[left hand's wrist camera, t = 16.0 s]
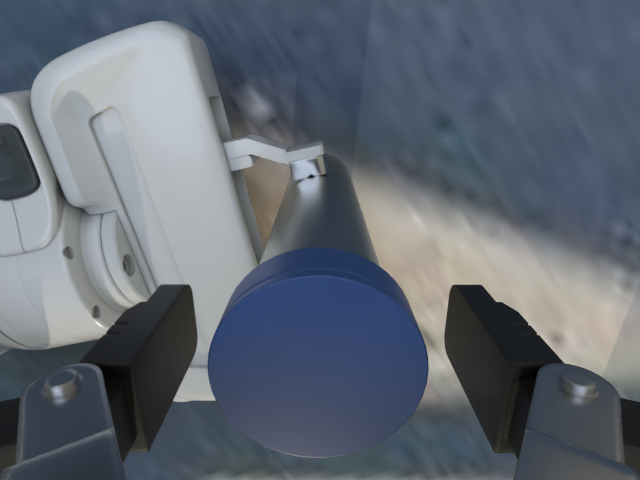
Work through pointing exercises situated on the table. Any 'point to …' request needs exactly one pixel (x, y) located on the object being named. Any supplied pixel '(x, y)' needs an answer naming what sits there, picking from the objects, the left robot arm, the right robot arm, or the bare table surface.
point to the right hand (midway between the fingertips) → (336, 207)
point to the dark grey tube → (321, 216)
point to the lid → (318, 354)
